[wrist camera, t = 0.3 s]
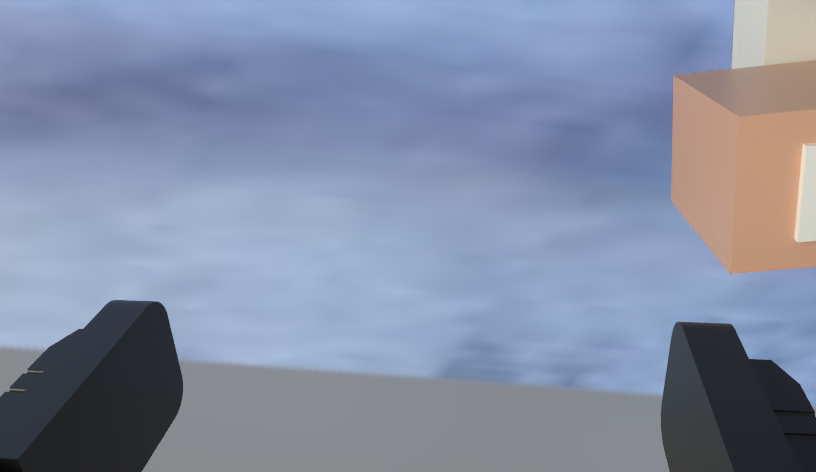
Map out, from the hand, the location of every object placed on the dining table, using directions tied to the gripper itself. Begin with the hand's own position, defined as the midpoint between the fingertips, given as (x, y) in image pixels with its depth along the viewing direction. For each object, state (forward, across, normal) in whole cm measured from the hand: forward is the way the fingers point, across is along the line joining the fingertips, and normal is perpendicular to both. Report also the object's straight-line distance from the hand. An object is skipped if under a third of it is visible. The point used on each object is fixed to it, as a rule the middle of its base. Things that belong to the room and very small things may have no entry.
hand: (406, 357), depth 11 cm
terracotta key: (+24, -13, +4) cm, 28 cm away
